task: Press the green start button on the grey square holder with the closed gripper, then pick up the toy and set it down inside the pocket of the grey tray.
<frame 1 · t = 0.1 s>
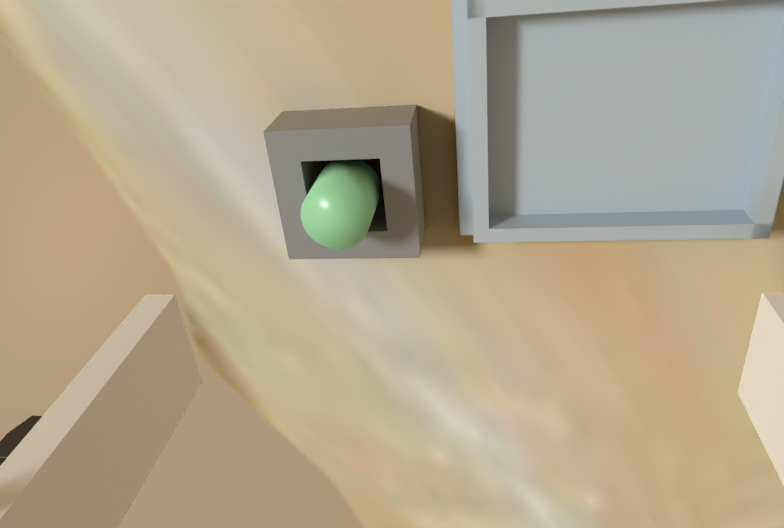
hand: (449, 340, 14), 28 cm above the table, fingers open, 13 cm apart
button: (342, 202, 39), point 5 cm above the table, slide at 0.0 cm
grey square holder: (356, 172, 43), on the table
grey tray: (618, 110, 39), on the table
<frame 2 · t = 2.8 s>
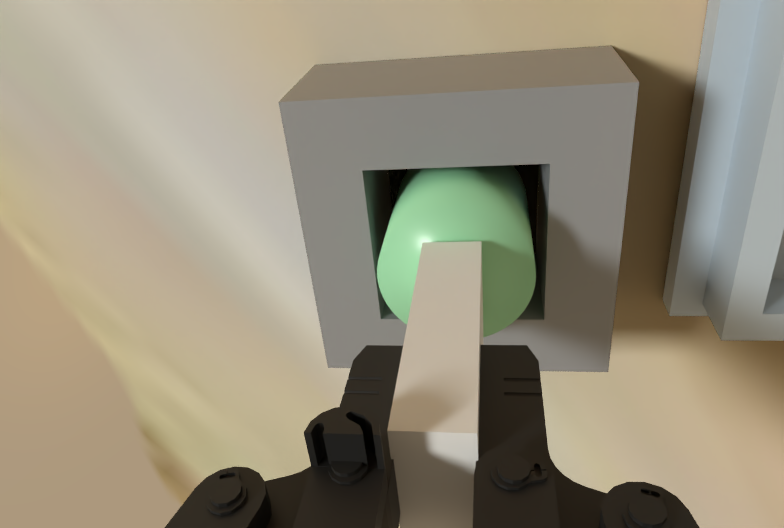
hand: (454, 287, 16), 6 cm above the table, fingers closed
button: (458, 237, 18), point 3 cm above the table, slide at 1.4 cm, touching gripper
grey square holder: (462, 190, 21), on the table
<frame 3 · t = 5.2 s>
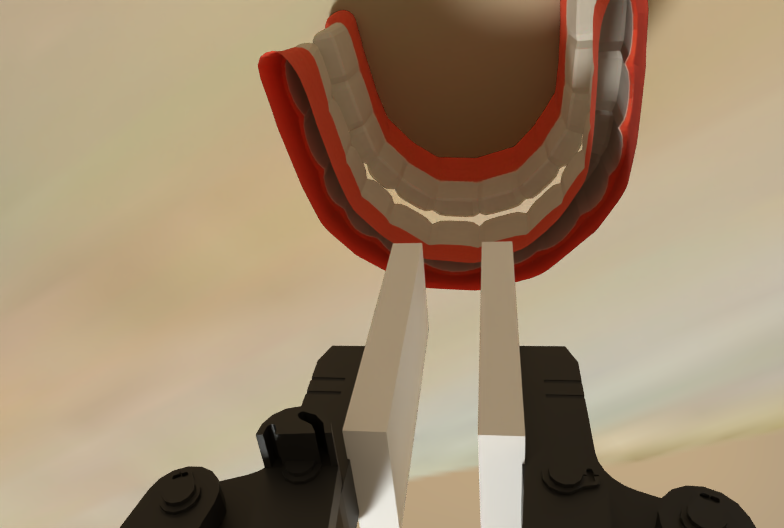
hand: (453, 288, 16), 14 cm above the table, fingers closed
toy: (469, 107, 28), on the table
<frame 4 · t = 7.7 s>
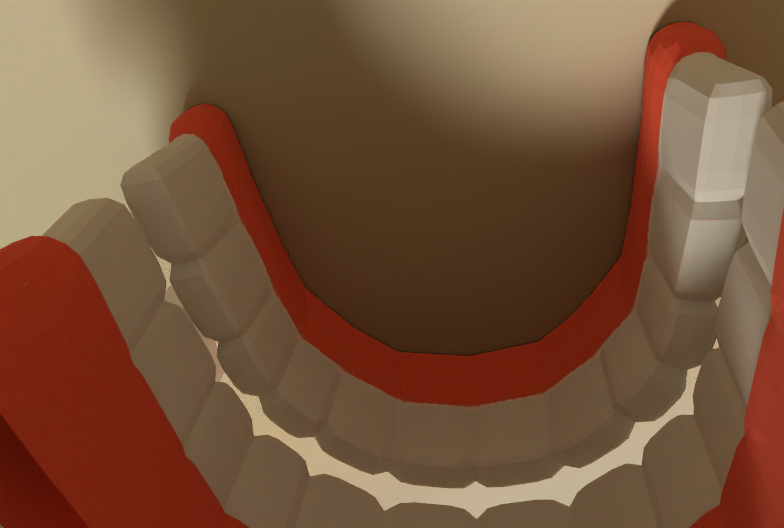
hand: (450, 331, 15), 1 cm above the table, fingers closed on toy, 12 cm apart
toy: (456, 274, 15), on the table, touching gripper
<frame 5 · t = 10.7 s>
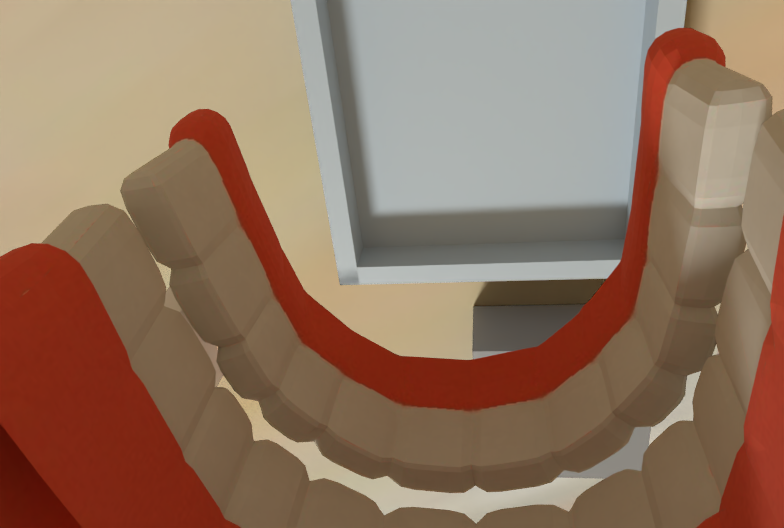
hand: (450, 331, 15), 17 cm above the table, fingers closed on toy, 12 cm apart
grey square holder: (554, 368, 36), on the table
grey tray: (484, 78, 28), on the table
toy: (456, 279, 15), point 16 cm above the table, touching gripper
when the fingers open (5 cm above the table, at t = 13.7 s): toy drops 3 cm, resting on grey tray.
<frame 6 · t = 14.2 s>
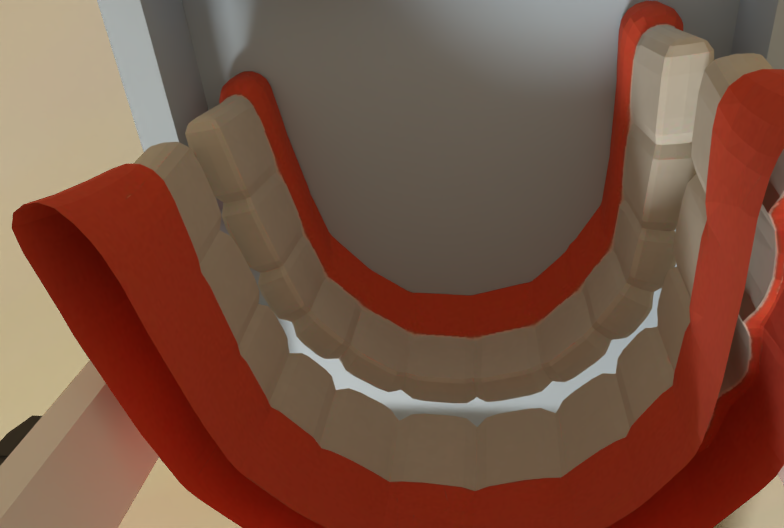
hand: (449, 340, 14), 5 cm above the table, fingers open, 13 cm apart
grey tray: (458, 235, 19), on the table
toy: (460, 222, 18), point 1 cm above the table, touching grey tray
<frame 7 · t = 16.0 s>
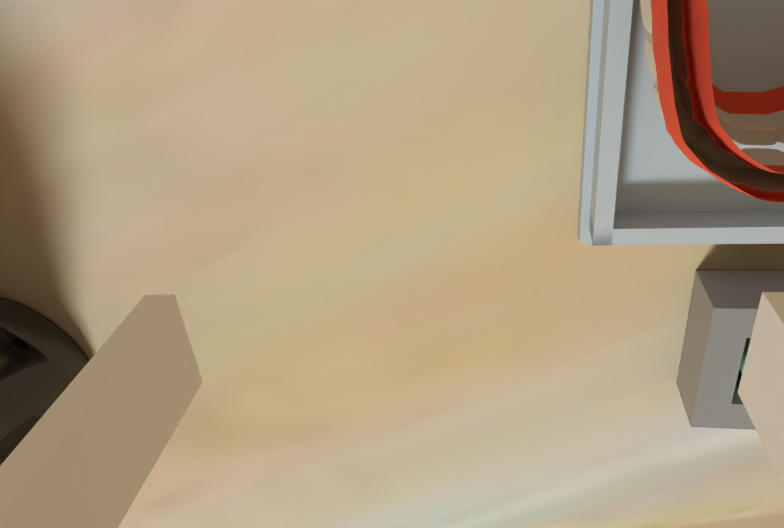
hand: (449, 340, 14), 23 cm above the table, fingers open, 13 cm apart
button: (780, 364, 37), point 3 cm above the table, slide at 1.6 cm
grey square holder: (762, 331, 39), on the table
grey tray: (753, 57, 31), on the table
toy: (765, 42, 30), point 1 cm above the table, touching grey tray
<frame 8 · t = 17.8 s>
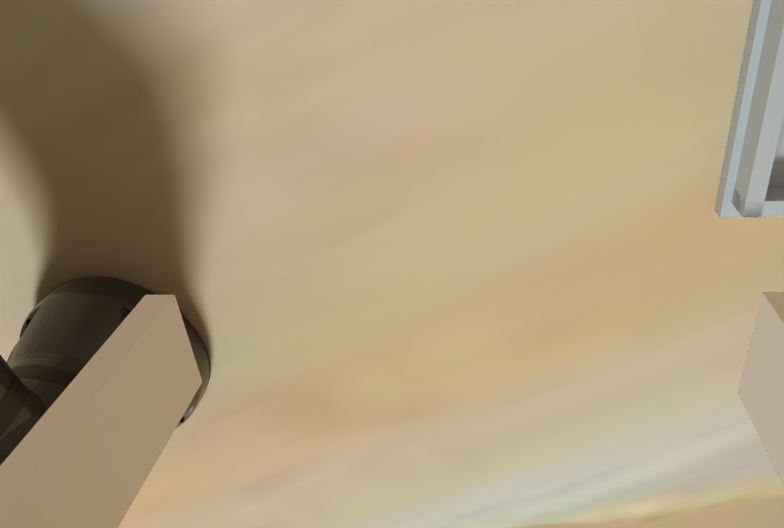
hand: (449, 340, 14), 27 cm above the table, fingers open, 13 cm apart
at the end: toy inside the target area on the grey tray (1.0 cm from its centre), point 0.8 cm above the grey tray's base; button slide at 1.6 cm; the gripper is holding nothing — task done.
